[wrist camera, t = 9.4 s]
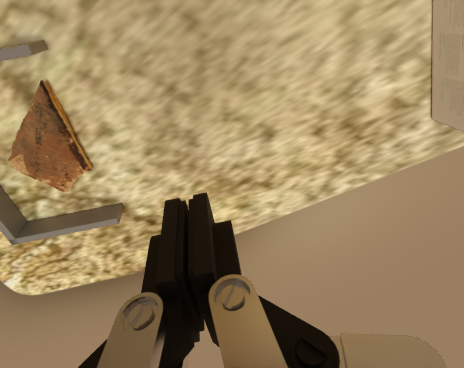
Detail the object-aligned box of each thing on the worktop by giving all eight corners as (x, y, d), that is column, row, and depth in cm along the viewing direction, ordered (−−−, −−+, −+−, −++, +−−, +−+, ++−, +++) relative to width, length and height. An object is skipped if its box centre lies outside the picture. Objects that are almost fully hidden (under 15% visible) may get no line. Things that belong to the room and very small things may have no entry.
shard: (47, 76, 27) (39, 80, 26) (121, 121, 30) (118, 127, 29) (10, 157, 31) (1, 165, 30) (79, 189, 34) (74, 197, 33)
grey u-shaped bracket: (-100, 66, 25) (-132, 74, 22) (43, 39, 25) (27, 44, 23) (24, 227, 36) (12, 244, 33) (123, 208, 36) (118, 223, 34)
